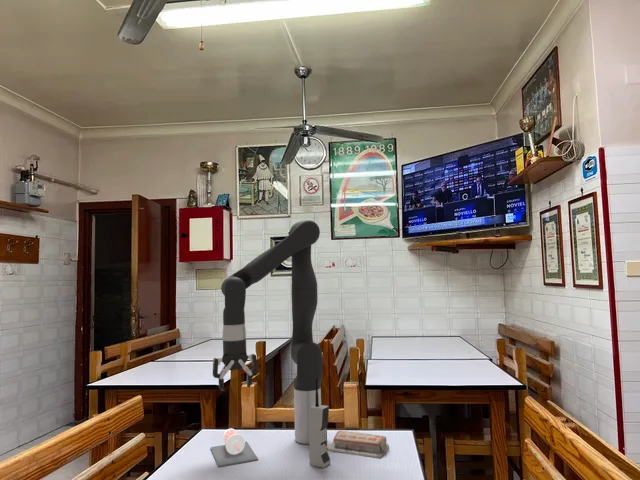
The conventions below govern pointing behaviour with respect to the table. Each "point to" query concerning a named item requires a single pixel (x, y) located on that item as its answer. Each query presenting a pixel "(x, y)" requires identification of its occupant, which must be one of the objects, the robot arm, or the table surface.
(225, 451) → the mat
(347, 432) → the packaged product
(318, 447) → the vintage mobile phone
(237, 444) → the beverage cup
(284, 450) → the table surface
